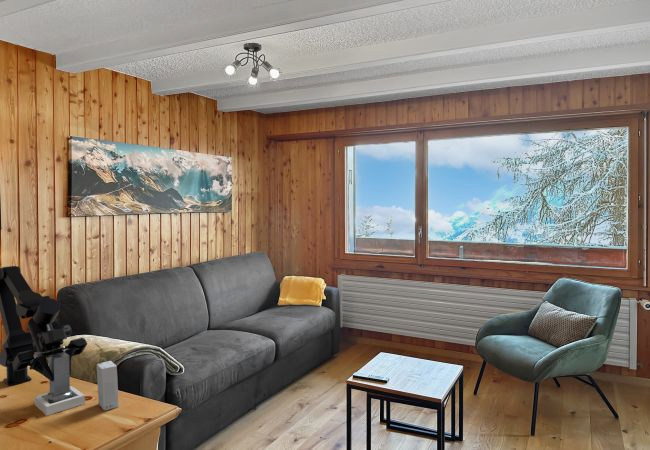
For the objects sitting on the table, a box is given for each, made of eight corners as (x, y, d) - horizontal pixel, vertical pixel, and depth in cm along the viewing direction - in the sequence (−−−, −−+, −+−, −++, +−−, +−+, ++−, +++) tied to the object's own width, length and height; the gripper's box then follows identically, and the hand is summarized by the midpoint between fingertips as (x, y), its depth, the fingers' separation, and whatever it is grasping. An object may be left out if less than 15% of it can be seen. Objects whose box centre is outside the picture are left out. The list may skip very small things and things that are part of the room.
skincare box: (119, 407, 132) (118, 365, 131) (102, 411, 129) (101, 369, 128) (113, 399, 137) (112, 359, 136) (96, 404, 134) (96, 363, 133)
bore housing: (34, 404, 133) (34, 396, 133) (71, 393, 140) (71, 385, 140) (46, 415, 126) (46, 406, 126) (85, 403, 134) (84, 395, 134)
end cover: (44, 399, 133) (43, 355, 132) (67, 393, 137) (66, 350, 137) (52, 405, 129) (51, 360, 128) (74, 399, 134) (74, 355, 133)
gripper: (15, 324, 127) (34, 373, 121) (83, 311, 142) (103, 354, 136) (4, 347, 132) (22, 394, 126) (71, 332, 147) (90, 373, 141)
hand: (61, 378), depth 132 cm, fingers closed on end cover, 4 cm apart
